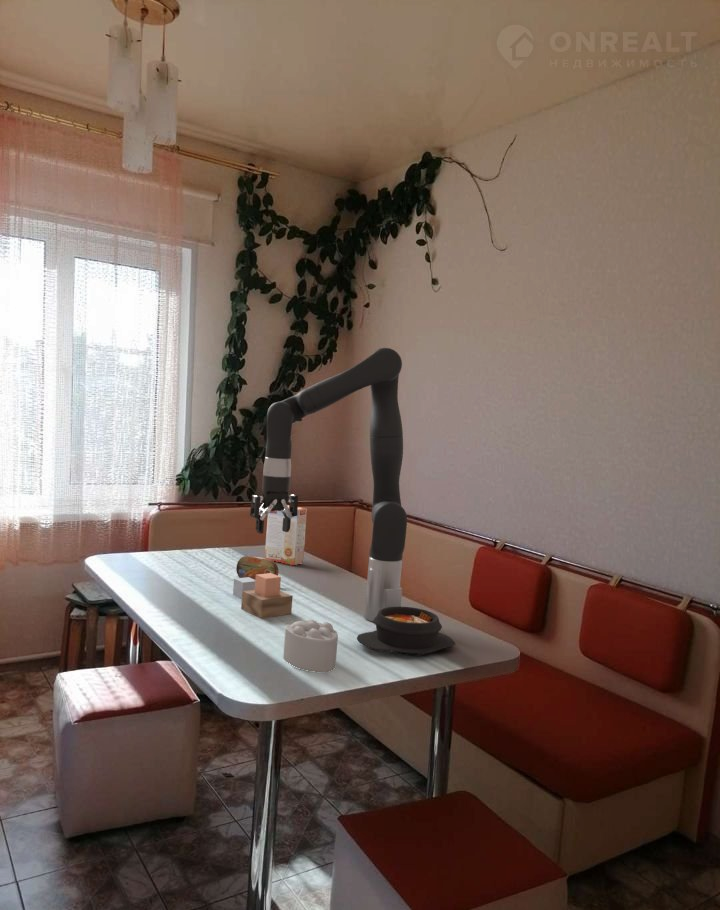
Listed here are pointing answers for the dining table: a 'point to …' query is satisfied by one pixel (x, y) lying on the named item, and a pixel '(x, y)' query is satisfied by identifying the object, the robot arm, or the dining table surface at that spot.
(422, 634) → the casserole
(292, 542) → the cracker box
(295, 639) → the lumpy-topped squat cylinder
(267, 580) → the terracotta cube
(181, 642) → the dining table surface
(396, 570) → the robot arm
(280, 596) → the walnut block
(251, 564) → the tin
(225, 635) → the dining table surface
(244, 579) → the grey-blue cube
